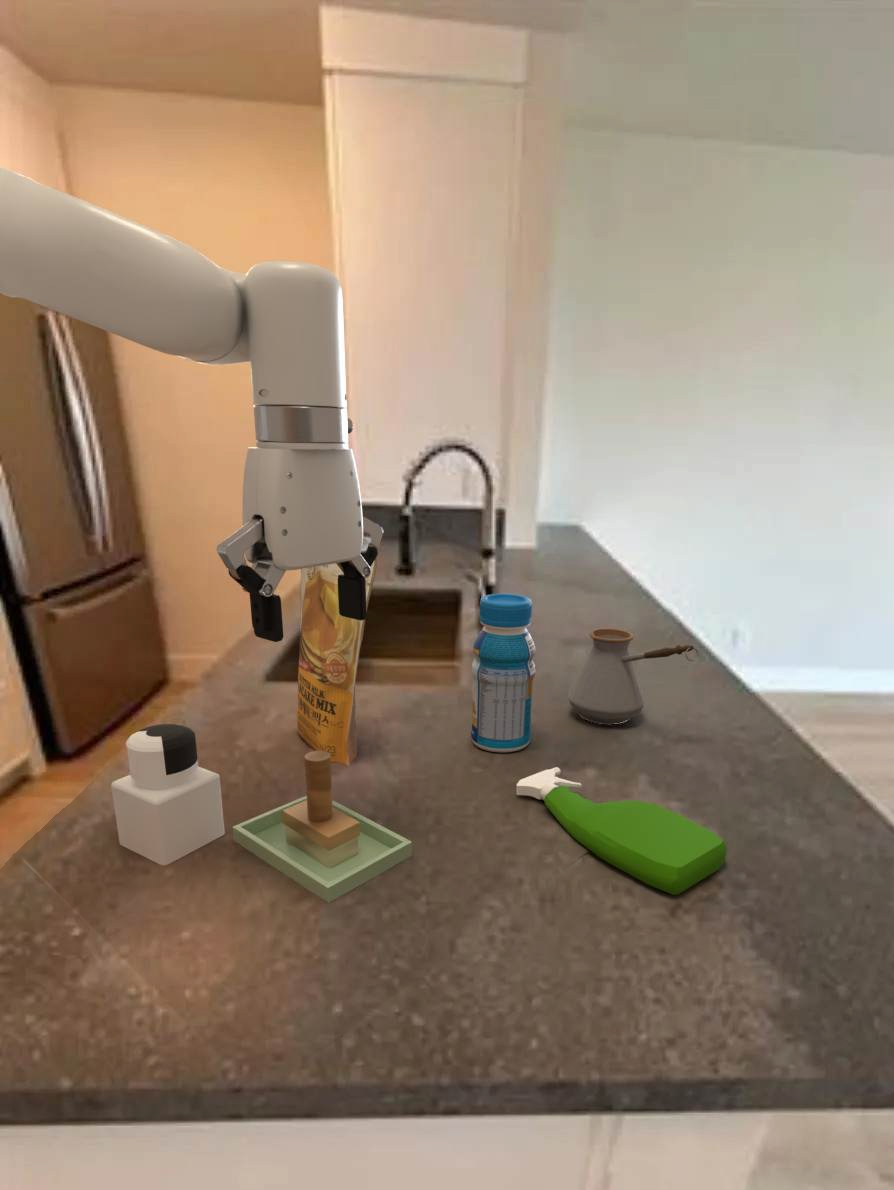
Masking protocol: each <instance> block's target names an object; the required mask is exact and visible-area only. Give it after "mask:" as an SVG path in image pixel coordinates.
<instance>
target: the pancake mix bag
mask: <svg viewBox="0 0 894 1190" xmlns="http://www.w3.org/2000/svg"><path fill="white" fill-rule="evenodd" d="M370 568H371V574H370V576H369V577H368V578H365V581H366V612H368V607H369V601H370V597H371V593H372V589H373V585H374V582H375V579H376V572H377V568H378V556H377V557H376V559H375V561H374V562H373V564H372V565H371V567H370ZM341 574H343V575H344V573H343V572H342V570H341V569H340V568H339V566H338V565H337V564H336V563H334V564H328V565H323V566H317V567H310V568H304V569H300V594H299V595H300V615H299V649H298V650H299V655H298V676H297V705H296V724H297V725H296V727H297V732H298V734H299V737H300V738H301V739H302V740H303V741H304V742H305V743H306V744H307V745H308V746H309V747H310V748H311V749H314V751H326V752H328V753H330V757H331V763H342V764H344V765H346V767H347V766H348V767H349V766H350V765H351V764H352V762H353V761H354V760H355V759H356V758H357V753H358V743H357V742H358V741H357V738H356V737H357V725H356V679H357V672H358V666H359V665H358V664H359V658H360V651H361V647H362V641H363V637H364V631H365V623H366V619H365V620H356V619H352V618H348V617H343V616H341V615H340V614H339V601H338V575H341Z"/></svg>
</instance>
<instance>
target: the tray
mask: <svg viewBox="0 0 894 1190" xmlns="http://www.w3.org/2000/svg"><path fill="white" fill-rule="evenodd" d="M306 800H307V795H305V796H302V797H300V798H297V799H295V800H292V801H290V802H288V803H285V804H283V805H281V806H279V807H276V808H273V809H271V810H269V811H266V812H264V813H262V814H259V815H257V816H254V817H252V818H250V819H248V820H245V821H243V822H240V823H238V824H236V825H233V826H232V837H233V841H234V842H235V843H237V844H238V845H240V846H241V847H243V848H244V849H246V850H247V851H248V852H250V853H252V854H254V855H255V856H256V857H258V858H259V859H261V860H263V861H264V862H266V863H267V864H269V866H272V867H273V868H275V869H276V870H278V871H279V872H281V873H282V874H283V875H285V876H287V877H288V878H290V879H291V880H293V881H294V882H295V883H298V884H299V885H301V886H302V887H303V888H305V889H306V890H307V891H309V892H311V893H313V894H314V895H316V896H317V897H319V898H320V899H321V900H323V901H325V902H326V903H328V904H330V903H332V902H333V901H335V900H336V899H339V898H340V897H341V896H344V895H345V894H348V893H349V892H351V891H352V890H354V889H357V888H358V887H360V886H361V885H363V884H364V883H366V882H368V881H370V880H372V879H374V878H375V877H377V876H379V875H380V874H382V873H384V872H386V871H388V870H390V869H391V868H393V867H395V866H396V865H398V864H400V863H402V862H404V861H405V860H408V859H409V858H410V857H412V856H413V842H412V841H411V840H410V839H407V838H406V837H404V836H402V835H400V834H398V833H396V832H394V831H392V830H390V829H388V828H387V827H385V826H383V825H381V824H379V823H377V822H375V821H373V820H371V819H369V818H368V817H365V816H364V815H362V814H359V813H358V812H356V811H354V810H352V809H350V808H348V807H347V806H344V805H343V804H340V803H339V802H337V801H335V800H333V799H332V805H333V808H334V809H336V810H338V811H340V812H341V813H343V814H345V815H347V816H349V817H351V818H353V819H355V820H356V821H358V822H360V836H358V854H356V855H354V856H352V857H350V858H348V859H346V860H344V861H342V862H340V863H338V864H337V865H335V866H333V867H331V868H329V867H327V866H326V865H324V864H322V863H321V862H319V861H318V860H316V859H314V858H313V857H311V856H309V855H308V854H306V853H305V852H303V851H301V850H300V849H298V848H296V847H295V846H293V845H291V844H290V843H288V842H287V841H286V831H285V825H284V824H283V821H282V810H285V809H287V808H289V807H292V806H294V805H296V804H299V803H301V802H303V801H306Z"/></svg>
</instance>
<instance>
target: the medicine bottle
mask: <svg viewBox="0 0 894 1190" xmlns="http://www.w3.org/2000/svg"><path fill="white" fill-rule="evenodd" d="M125 745H126V746H125V748H126V754H127V761H128V769H129V775H126V776H124V777H121V778H119V779H115V780H113V781H112V782H111V785H110V786H111V787H110V788H111V795H112V801H113V808H114V815H115V821H116V828H117V836H118V842H119V843H118V844H119V845H120V846H122V847H123V848H126V849H128V850H130V851H131V852H134V853H136V854H138V855H140V856H142V857H143V858H146V859H148V860H149V861H152V862H154V863H156V864H158V865H159V866H163V867H164V866H168V865H170V864H172V863H174V862H175V861H178V860H179V859H182V858H183V857H185V856H187V855H188V854H191V853H193V852H194V851H196V850H198V849H200V848H202V847H203V846H205V845H207V844H209V843H212V842H213V841H216V840H217V839H218V838H220V837H222V836H225V834H226V832H225V821H224V820H225V819H224V810H223V809H224V808H223V800H222V788H221V781H220V780H221V779H220V774H218V773H217V772H214V771H211V770H209V769H206V768H203V767H201V766H199V759H198V757H199V756H198V749H197V748H198V747H197V739H196V733H195V731H193V729H191V728H190V727H188V726H185V725H180V724H175V723H162V724H155V725H150V726H146V727H144V728H142V729H140V730H139V729H138V730H137V731H135V732H133V733H132V734H131V735H130V736H129V737H128V738H127V740H126V741H125Z"/></svg>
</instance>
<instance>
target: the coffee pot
mask: <svg viewBox="0 0 894 1190" xmlns="http://www.w3.org/2000/svg"><path fill="white" fill-rule="evenodd" d="M589 637H590V638H591V639H592V647H591V649H590V651H589V653H588V655H587V657H586V659H585V660H584V663H583V664H582V667H581V668H580V670H579V672H578V674H577V676H576V678H575V680H574V682H573V683H572V685H571V687H570V689H569V691H568V693H567V699H568V702H569V704H570V706H571V707H572V709H574V711H575V713H577V714H579V717H580V718H581V719H583V720H584V719H585V720H584V721H586V720H588V721H587V722H589V721H591V722H590V723H592V722H595V723H594V724H596V723H602V724H614V723H620V722H623V721H625V720H628V719H630V720H631V719H633V718H635V717H636V716H637V715H638V714H640V713H641V711H642V710H643V708H644V707H645V703H646V700H645V697H644V696H645V695H644V694H643V690H642V687H641V684H640V681H639V677H638V675H637V672H636V670H635V666H634V663H633V662H635V661H639V660H644V659H657V658H668V657H670V656H673V655H682V654H683V653H684V655H685V658H686V660H688V661H689V662H695V661H697V659H698V658H699V651H698V649H697V648H696V647H694V646H693V645H689V644H688V645H687V644H686V645H683V646H682V645H676V646H675V647H662V648H658V649H657V648H656V649H654V650H650V651H645V652H643V653H636V654H630V651H629V647H630V644H631V641H633V640H634V638H635V636H634V634H633V633H632V632H629V631H628V630H624V629H619V628H596V629H593V630H591V631H589ZM693 650H695V652H696V657H695V659H690V658H689V657H688V655H687V654H688V652H691V651H693Z"/></svg>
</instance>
